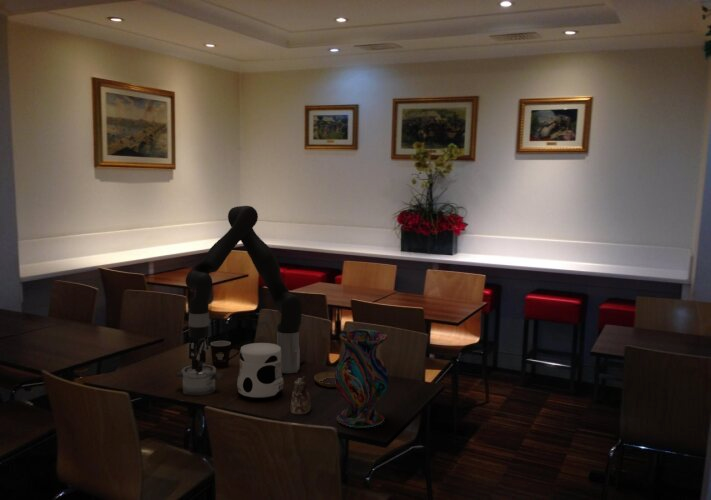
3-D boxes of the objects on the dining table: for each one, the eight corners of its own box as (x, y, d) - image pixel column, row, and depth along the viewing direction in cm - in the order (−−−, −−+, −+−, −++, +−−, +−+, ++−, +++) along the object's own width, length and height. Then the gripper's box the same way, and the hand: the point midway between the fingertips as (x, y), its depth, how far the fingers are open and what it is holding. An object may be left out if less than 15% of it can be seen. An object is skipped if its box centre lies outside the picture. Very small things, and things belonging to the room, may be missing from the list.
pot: (225, 386, 242) (225, 365, 241) (214, 397, 230) (214, 375, 229) (184, 383, 244) (184, 363, 243) (171, 394, 232) (171, 373, 231)
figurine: (286, 411, 219) (286, 378, 217) (298, 405, 225) (299, 373, 223) (301, 415, 215) (302, 382, 213) (314, 409, 221) (315, 377, 219)
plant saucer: (350, 390, 243) (350, 383, 242) (312, 389, 242) (313, 382, 242) (350, 378, 257) (350, 371, 257) (314, 377, 257) (315, 371, 257)
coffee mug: (206, 367, 264) (206, 344, 263) (216, 362, 272) (216, 339, 271) (230, 370, 261) (231, 347, 260) (240, 365, 269) (240, 342, 268)
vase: (326, 426, 207) (328, 338, 203) (343, 407, 224) (345, 326, 220) (379, 434, 201) (382, 344, 198) (392, 414, 219) (396, 331, 215)
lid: (214, 369, 240) (214, 358, 239) (206, 376, 231) (206, 365, 231) (192, 368, 241) (192, 357, 240) (182, 375, 232) (182, 363, 232)
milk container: (233, 388, 239) (233, 343, 237) (277, 384, 246) (277, 340, 243) (241, 404, 223) (241, 356, 221) (288, 400, 229) (289, 352, 227)
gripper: (201, 329, 226) (201, 372, 228) (214, 320, 240) (214, 360, 242) (182, 328, 227) (182, 370, 229) (196, 319, 241) (196, 359, 243)
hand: (198, 365), depth 236 cm, fingers open, 8 cm apart
